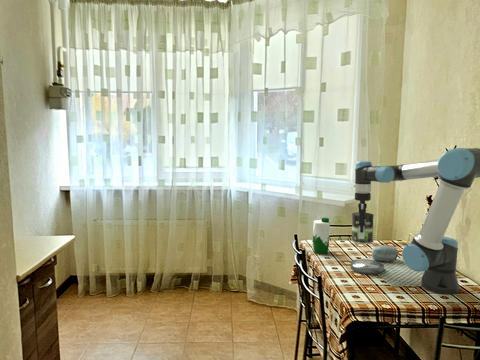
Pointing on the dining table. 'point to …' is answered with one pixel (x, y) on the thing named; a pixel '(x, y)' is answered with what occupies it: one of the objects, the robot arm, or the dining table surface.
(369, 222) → the coffee can
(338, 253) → the dining table surface
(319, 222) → the milk carton
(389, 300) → the dining table surface
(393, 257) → the gray rounded cylinder
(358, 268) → the plate
